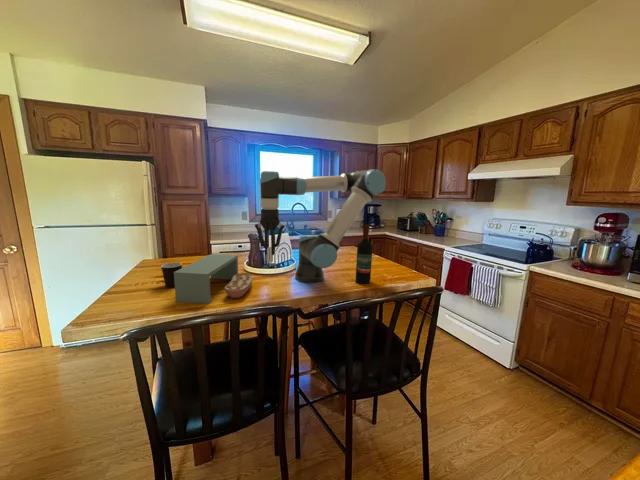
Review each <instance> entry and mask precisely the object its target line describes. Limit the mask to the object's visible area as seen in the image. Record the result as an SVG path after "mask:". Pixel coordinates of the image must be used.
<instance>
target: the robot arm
mask: <svg viewBox="0 0 640 480" xmlns="http://www.w3.org/2000/svg"><path fill="white" fill-rule="evenodd" d="M259 181H260V182H259V183H260V208H261V209H260V219H259V222H258V223H255V224H254V228H255V229H256V232H257V236H258V240H259V244H260V246H261V247H263V248H264V254H265V256H266V261H267V263H269V264H271V263H273V262H274V256H275V255H276V248H278V247H279V246H280V244H281V239H282V234H283V230H284V229H285V228H286V225H285V224H283V223H281V222H280V219H279V217H280V216H279V215H280V212H279V209H278V208H279V204H280V200H279V195H283V196H284V195H287V196H303V195H305V194H307V193H322V192H335V191H336V192H339V191H340V192H342V193H350V195H349V196H348V198H347V199H346V201H345V202H344V204H343V205H342V206H341V207H340V209H339V211H338V212H337V213H336V214H335V216H334V218H333V219H332V220H331V222H330V224H328V226H327V228H326V229H325V231H324V232H321V233H319V234H318V235H317V234H314V235H313V234H309V235H306V234H305V235H300V237H299V238H298V265H297V268H296V271H295V275H294V276H295V277H294V278H295V280H296V281H298V282H301V283H310V284H311V283H318V282H321V281H323V280H324V277H325V274H324V270H323V269H327V268H329V267H331V266H333V265H334V264H335V263H336V262H337V259H338V251H339V249H340V242H341V241H342V239H343V238H344V237H345V235H346V233H347V232H348V230H349V229H350V227H351V226H352V224H353V223H354V222H355V220H356V219H357V217H358V216H359V214H360V212H361V211H362V209H363V208H365V206H366V204H367V203H371V202H372V201H373V199H374V198H375V197H376V196H378V195H381V193H383V192H384V190H385V189H386V186H387V185H386V184H387V182H386V177H385V175H384V173H383V171H381V170H379V169H372V168H370V169H365V170H357V171H352V172H347V173H341V174H340V175H325V176H324V175H322V176H302V177H301V176H299V177H298V176H297V177H296V176H295V177H294V176H291V177H290V176H288V177H287V176H280V173H279V172H278V171H272V170H264V171H261V173H260V180H259ZM262 228H263V229H264V232H263V229H262ZM277 228H278V232H277V237H276V229H277ZM263 233H264V234H263ZM270 245H271V246H270Z"/></svg>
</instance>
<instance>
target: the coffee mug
mask: <svg viewBox="0 0 640 480" xmlns="http://www.w3.org/2000/svg"><path fill="white" fill-rule="evenodd" d="M160 266H161V272H162V276H163V280H164V284H165V287H166V288H168V289H169V288H170V289H175V282H174V272H175V271H177V270H179V269H181V268H183V263H182V262H167V263H163V264H162V265H160Z"/></svg>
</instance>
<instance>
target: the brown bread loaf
mask: <svg viewBox="0 0 640 480" xmlns="http://www.w3.org/2000/svg"><path fill="white" fill-rule="evenodd" d="M253 279H254V278H253V274H252V273H247V272H246V273H244V272H241V273H238V274H236V275H234V276H233V278H232V279H230V281H229V283H227V284H226V285H225V286H224V291H225V293H226V295H227V296H228V297H229V298H232V299H238V298H241V297H242V296H244V294H246V293H247V292H248V290H249V289H250V288H251V285H252V283H253Z"/></svg>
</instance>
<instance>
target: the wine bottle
mask: <svg viewBox="0 0 640 480" xmlns="http://www.w3.org/2000/svg"><path fill="white" fill-rule="evenodd" d="M362 226H363V227H362V229H363V230H362V240H361V241H359V243H358V244H357V248H356V264H355V265H356V266H355V281H354V282H355V284H357V283H358V285H361V284H368V285H370V284H371V275H372V262H373V261H372V260H373V247H374V245H373V244H372V243H371V242H370V240H369V236H370V235H369V233H370V232H369V231H370V224H369V223H368V224H365V223H364V224H363V225H362ZM369 283H370V284H369Z"/></svg>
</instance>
